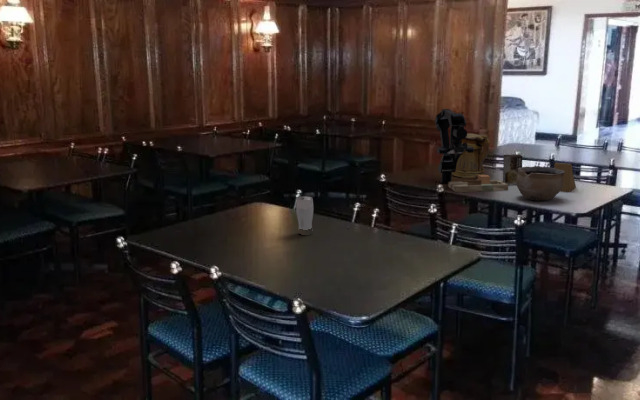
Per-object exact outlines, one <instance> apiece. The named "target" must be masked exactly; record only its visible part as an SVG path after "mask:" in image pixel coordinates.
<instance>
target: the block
mask: <svg viewBox="0 0 640 400" xmlns="http://www.w3.org/2000/svg"><path fill="white" fill-rule="evenodd" d="M477 180H481V184H490V180H491V175H488V174H484V175H478V178H477Z"/></svg>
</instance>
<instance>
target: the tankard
mask: <svg viewBox="0 0 640 400" xmlns="http://www.w3.org/2000/svg"><path fill="white" fill-rule="evenodd" d="M462 143H467V144H468V146H471V147H473V148H474V153H468V152H467V151H464V152H463V155H461V156H460V157H459V159H458V161H457V165H456V171H455V172H452V176H453V177H458V178H462V177H476V179H478V175H485V168H484V162H485V161H486V158H487V157H488V155H489V153H490V148H491V145H490V144H491V143H490V140H489V137H488V135H481V134H476V133H470V132H469V133H468V132H467V136H466V138H464V139H462Z"/></svg>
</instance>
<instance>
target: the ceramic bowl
mask: <svg viewBox="0 0 640 400" xmlns="http://www.w3.org/2000/svg"><path fill="white" fill-rule="evenodd" d="M518 173H519V174H518V176H517V180H516V184H517V185H516V187H517V189H518V191H519V192H520V194H521V195H522V196H523V197H524V198H525V199H528V200H531V201H539V202H540V201H541V202H543V201H549V200H551V199H553V198H554V197H556V196H558V194H559V193H560V192H561V189H562V186H563V175H564V173H565V171H563V170H559V169H555V168H554V167H548V166H546V167H545V166H522V167H521V168H518Z"/></svg>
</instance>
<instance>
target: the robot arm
mask: <svg viewBox="0 0 640 400" xmlns="http://www.w3.org/2000/svg"><path fill="white" fill-rule="evenodd" d="M434 118H435V119H434V124H435V128H436V130H437V131H438V132H439V136H440V144H441V146H438V147H437V148H436V153H438V154H440V155H441V154H442V157H441V158H440V162H439V165H438V167H437V170H438V173H441V177H440V178H441V180H439V182H440V183H441V184H449V182H452V181H453V175H452V172H455V171H456V165H457V161H458V159H459V157H460V156H461V155H463V152H464V151H467V152H468V153H474V148H473V147H471V146H468V144H467V143H462V139H464V138H466V136H467V133H468V131H467V129H465V128H464V127H467V122H466V118H465V116H464V114H463V113H462V112H460V113H458V112H457V113H456V112H454V111H453V110H452V109H450V108H443V109H441V110H440V112H439V113H438V114H436V115H435V117H434ZM449 128H450V129H449ZM449 131H450V133H449ZM449 134H450V135H449Z"/></svg>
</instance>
